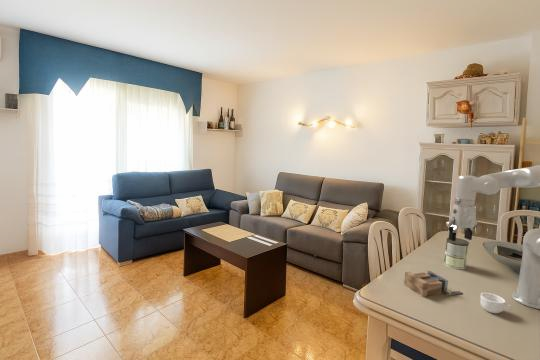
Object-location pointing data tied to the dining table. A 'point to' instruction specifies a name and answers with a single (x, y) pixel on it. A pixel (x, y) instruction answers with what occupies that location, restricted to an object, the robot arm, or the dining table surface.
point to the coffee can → (456, 253)
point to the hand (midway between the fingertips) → (459, 239)
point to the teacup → (493, 303)
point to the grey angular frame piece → (439, 278)
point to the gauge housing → (425, 284)
